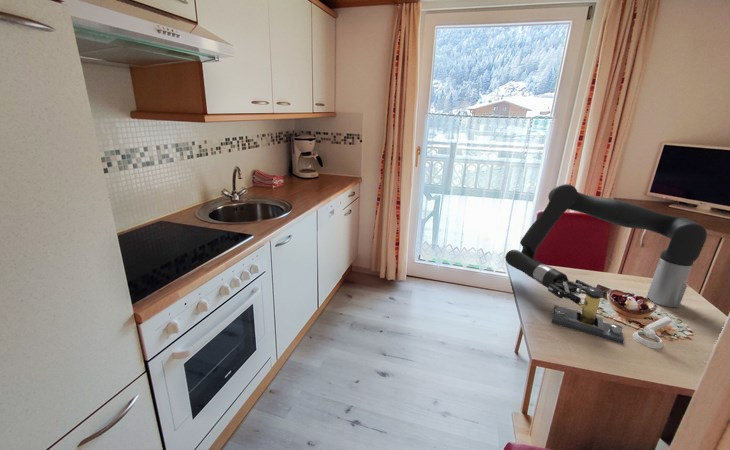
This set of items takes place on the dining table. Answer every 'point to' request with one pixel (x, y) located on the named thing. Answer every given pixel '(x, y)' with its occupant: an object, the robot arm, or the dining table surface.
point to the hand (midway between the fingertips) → (589, 299)
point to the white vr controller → (652, 333)
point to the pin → (591, 305)
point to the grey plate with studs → (600, 329)
